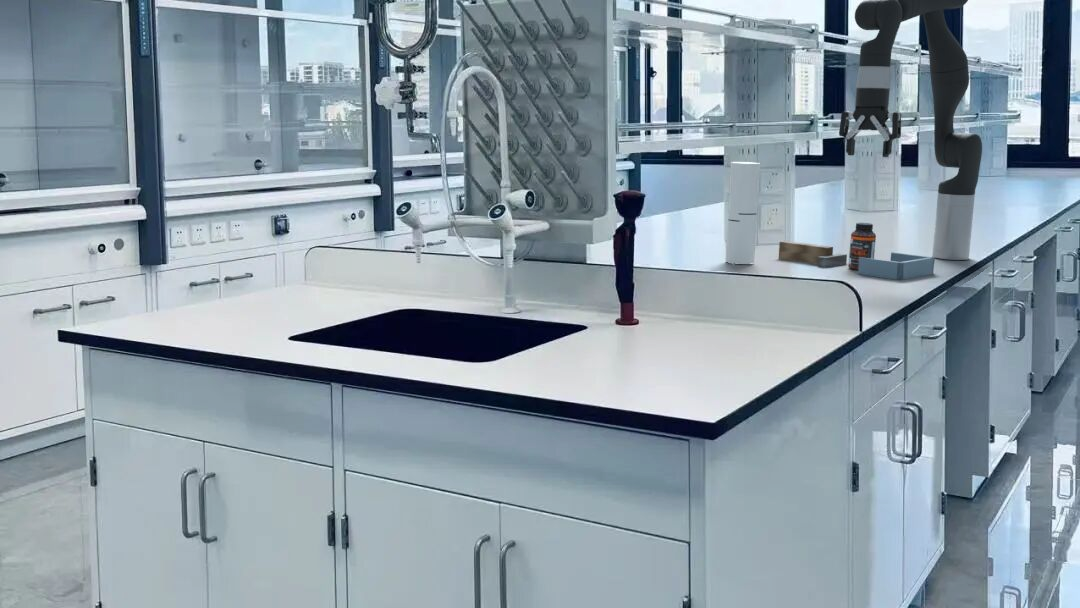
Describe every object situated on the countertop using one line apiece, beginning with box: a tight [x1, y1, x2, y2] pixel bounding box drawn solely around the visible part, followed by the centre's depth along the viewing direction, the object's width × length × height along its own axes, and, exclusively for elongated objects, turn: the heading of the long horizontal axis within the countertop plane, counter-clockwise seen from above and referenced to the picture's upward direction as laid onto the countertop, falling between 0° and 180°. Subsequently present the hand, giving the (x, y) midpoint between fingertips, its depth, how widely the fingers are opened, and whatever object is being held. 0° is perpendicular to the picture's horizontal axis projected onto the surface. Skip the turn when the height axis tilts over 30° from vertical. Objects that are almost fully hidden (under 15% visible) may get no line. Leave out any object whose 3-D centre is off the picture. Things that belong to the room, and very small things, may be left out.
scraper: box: [778, 240, 848, 268], centre depth 286 cm, size 16×10×4 cm, turn 44°
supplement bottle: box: [848, 222, 877, 271], centre depth 275 cm, size 6×6×11 cm
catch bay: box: [857, 251, 936, 281], centre depth 269 cm, size 11×16×4 cm
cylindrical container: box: [725, 161, 761, 264], centre depth 279 cm, size 7×7×25 cm
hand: (867, 156), depth 266 cm, fingers open, 8 cm apart
